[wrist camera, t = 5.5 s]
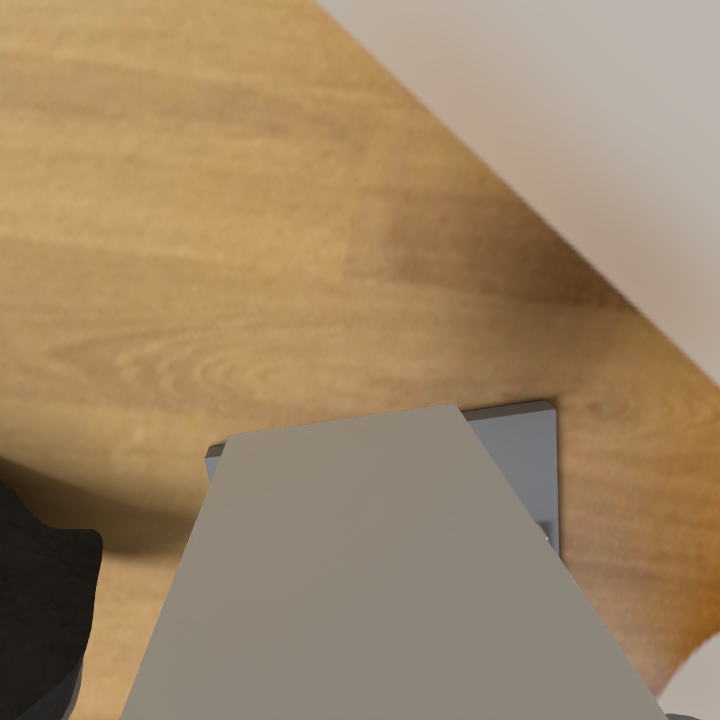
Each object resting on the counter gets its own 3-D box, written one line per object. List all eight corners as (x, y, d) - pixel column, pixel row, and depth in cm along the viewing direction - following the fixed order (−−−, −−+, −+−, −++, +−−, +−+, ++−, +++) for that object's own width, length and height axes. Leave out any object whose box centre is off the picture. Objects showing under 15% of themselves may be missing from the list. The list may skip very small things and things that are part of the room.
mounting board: (209, 446, 27) (199, 470, 24) (545, 400, 27) (567, 418, 25) (259, 685, 31) (255, 725, 28) (552, 639, 31) (571, 674, 29)
